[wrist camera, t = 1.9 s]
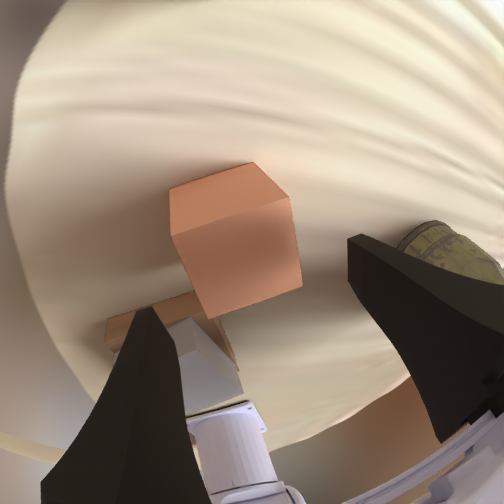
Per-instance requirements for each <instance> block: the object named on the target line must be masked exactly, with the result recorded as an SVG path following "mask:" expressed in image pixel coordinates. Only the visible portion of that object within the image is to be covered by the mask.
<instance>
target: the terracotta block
mask: <svg viewBox="0 0 504 504" xmlns="http://www.w3.org/2000/svg"><path fill="white" fill-rule="evenodd" d="M169 201H170V230H171V238H172V240H173V243H174V245H175V247H176V250H177V252H178V254H179V256H180V259H181V261H182V263H183V265H184V268H185V270H186V272H187V274H188V277H189V279H190V281H191V283H192V285H193V288H194V290H195V292H196V294H197V296H198V298H199V300H200V302H201V305H202V307H203V309H204V311H205V313H206V315H207V317H208V319H211V318H214V317H217V316H220V315H223V314H226V313H229V312H232V311H235V310H238V309H241V308H244V307H246V306H249V305H252V304H255V303H258V302H261V301H264V300H266V299H269V298H272V297H275V296H277V295H280V294H283V293H286V292H288V291H291V290H294V289H297V288H299V287H302V286H303V282H302V275H301V268H300V261H299V255H298V248H297V242H296V235H295V229H294V223H293V217H292V211H291V205H290V199H289V197H288V195H287V194H286V193H285V192H284V191H283V190H282V189H281V188H280V187H279V186H278V185H277V184H276V183H275V182H274V181H273V180H272V179H271V178H270V177H268V176H267V175H266V174H265V173H264V172H263V171H262V170H261V169H260V168H259V167H258V166H257V165H256V164H255V163H254V162H252V163H249V164H245V165H242V166H238V167H235V168H232V169H229V170H225V171H222V172H219V173H216V174H213V175H210V176H207V177H204V178H200V179H197V180H195V181H192V182H189V183H186V184H183V185H180V186H177V187H174V188H171V189H169Z"/></svg>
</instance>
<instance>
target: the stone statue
mask: <svg viewBox="0 0 504 504" xmlns="http://www.w3.org/2000/svg"><path fill="white" fill-rule="evenodd" d="M397 249H398V250H400V251H402V252H404V253H406V254H409V255H411V256H413V257H415V258H418V259H420V260H422V261H425V262H427V263H430V264H432V265H435V266H437V267H440V268H443V269H445V270H448V271H451V272H454V273H457V274H460V275H463V276H467V277H470V278H474V279H478V280H482V281H486V282H490V283H495V284H500V285H504V272H503V270H502V268H501V266H500V264H499V263H498V262H497V261H496V260H495V259H494V258H492V257H491V256H490V255H489V254H487V253H486V252H485V251H484V250H483V249H481V248H480V247H479V246H478V245H476V244H475V243H474V242H472V241H471V240H470V239H469V238H467V237H466V236H463V235H460V234H457V233H456V232H455V231H453V230H452V229H451V228H450V227H449V226H448V225H447V224H445V223H443V222H440V221H437V220H436V221H430V222H426V223H424V224H423V225H421V226H419V227H417V228H416V229H414V230H413V231H412V232H411V233H410V234H409V235H408V236H407V237H406V238H404V239H403V241H402V242H401V243H400V245H399V246H398V247H397Z"/></svg>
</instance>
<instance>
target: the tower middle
mask: <svg viewBox="0 0 504 504" xmlns="http://www.w3.org/2000/svg"><path fill="white" fill-rule="evenodd" d="M166 329H167V331H168V332H169V334H170V335H171V337H172V339H173V340H174V342H175V345H176V350H177V354H178V359H179V364H180V371H181V380H182V390H183V399H184V408H185V415H188V414H191V413H194V412H197V411H200V410H202V409H205V408H208V407H210V406H213V405H216V404H218V403H221V402H223V401H226V400H228V399H231V398H233V397H236V396H238V395H240V394H243V393H244V392H243V389H242V386H241V382H240V379H239V375H238V372H237V369H236V365H235V364H234V363H233V362H232V361H231V360H230V359H229V358H228V356H227V355H226V354H225V353H224V352H223V351H222V350H221V349H220V348H219V347H218V346H217V345H216V344H215V343H214V342H213V340H212V339H211V338H210V337H209V336H208V335H207V334H206V333H205V332H204V331H203V330H202V328H201V327H200V326H199V325H198V324H197V323H196V322H195V321H194V319H193V318H192V317H191V316H190V317H188V318H186V319H184V320H182V321H180V322H178V323H176V324H174V325H172V326H170V327H168V328H166ZM119 352H120V351H118V352H115V353H114V356H113V367H114V365H115V362H116V360H117V357H118V355H119Z"/></svg>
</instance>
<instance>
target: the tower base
mask: <svg viewBox="0 0 504 504" xmlns="http://www.w3.org/2000/svg"><path fill="white" fill-rule="evenodd" d="M150 306H152V307H153V309H154V310H155V312H156V314H157V315H158V317H159V318H160V320H161V321H162V323H163V325H164V326H165V328H168V327H170V326H172V325H174V324H176V323H178V322H180V321H182V320H184V319H186V318H188V317H190V316H191V317H192V318H193V319H194V321H195V322H196V323H197V324H198V325H199V326H200V327H201V328H202V330H203V331H204V332H205V333H206V334H207V335H208V336H209V337H210V338H211V339H212V340H213V342H214V343H215V344H216V345H217V346H218V347H219V348H220V349H221V350H222V351H223V352H224V353H225V354H226V355H227V356H228V358H229V359H230V360H231V361H232V362H233V363H234V364H235V365H236V369H237V372H238V371H239V369H238V366H237V363H236V359H235V356H234V352H233V350H232V348H231V346H230V343H229V341H228V339H227V337H226V335H225V333H224V330H223V328H222V326H221V324H220V322H219V319H218V317H214V318H211V319H208V317H207V315H206V313H205V311H204V309H203V307H202V305H201V302H200V300H199V298H198V296H197V294H196V292H195V291H193V292H190V293H187V294H184V295H181V296H178V297H174V298H171V299H168V300H165V301H162V302H159V303H156V304H153V305H150ZM150 306H147V307H150ZM147 307H144V308H147ZM144 308H141V309H144ZM141 309H138V310H141ZM138 310H134V311H131V312H128V313H125V314H122V315H119V316H116V317H112V318H109V319H107V326H106V334H105V343H106V344H107V345H108V346H109V347H110V348H111V350H112V351H113V352H114V353H115V352H118V351H120V350H121V347H122V345H123V342H124V340H125V337H126V335H127V332H128V330H129V327H130V325H131V322H132V320H133V318H134V315H135V313H136V311H138Z"/></svg>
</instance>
